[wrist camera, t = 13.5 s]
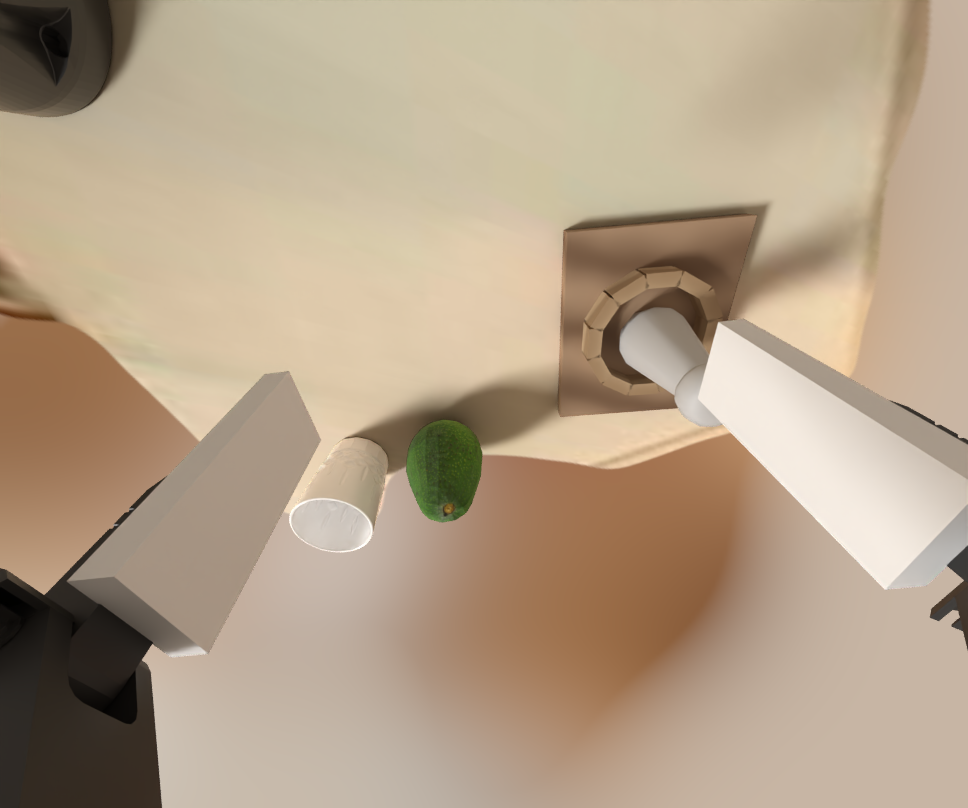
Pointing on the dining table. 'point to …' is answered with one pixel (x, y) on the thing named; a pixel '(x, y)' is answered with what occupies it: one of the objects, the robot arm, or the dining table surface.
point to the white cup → (342, 497)
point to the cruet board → (640, 301)
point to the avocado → (444, 469)
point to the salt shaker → (669, 358)
